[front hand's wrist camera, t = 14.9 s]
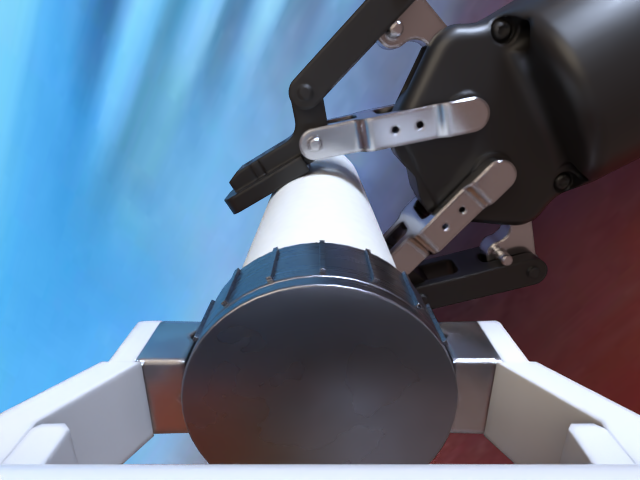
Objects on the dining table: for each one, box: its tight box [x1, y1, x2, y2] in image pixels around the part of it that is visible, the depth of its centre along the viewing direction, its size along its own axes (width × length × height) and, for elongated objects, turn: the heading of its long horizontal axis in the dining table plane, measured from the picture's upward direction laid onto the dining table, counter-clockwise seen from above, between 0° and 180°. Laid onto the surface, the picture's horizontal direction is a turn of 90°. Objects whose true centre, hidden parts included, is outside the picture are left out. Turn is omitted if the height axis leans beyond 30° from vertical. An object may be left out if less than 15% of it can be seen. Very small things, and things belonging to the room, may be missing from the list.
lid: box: [181, 240, 458, 464], centre depth 9 cm, size 5×5×2 cm
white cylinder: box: [242, 155, 397, 269], centre depth 17 cm, size 5×5×17 cm
